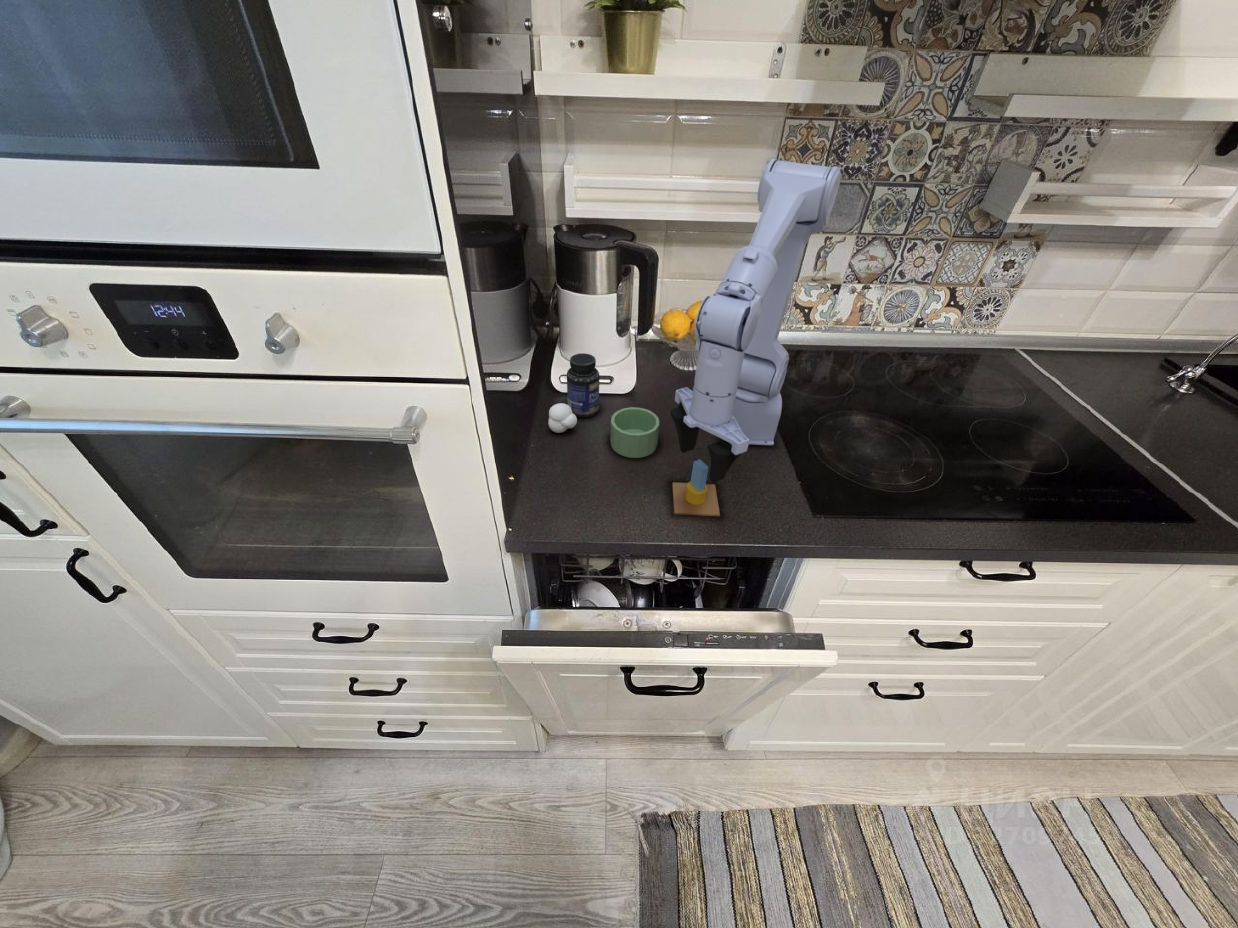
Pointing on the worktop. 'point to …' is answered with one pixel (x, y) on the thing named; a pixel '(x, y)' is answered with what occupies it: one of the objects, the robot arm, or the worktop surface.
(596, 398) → the pill bottle
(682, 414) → the robot arm
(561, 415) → the microfossil shell
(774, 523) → the worktop surface
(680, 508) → the mat
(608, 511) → the worktop surface
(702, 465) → the brush
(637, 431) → the green round open container
